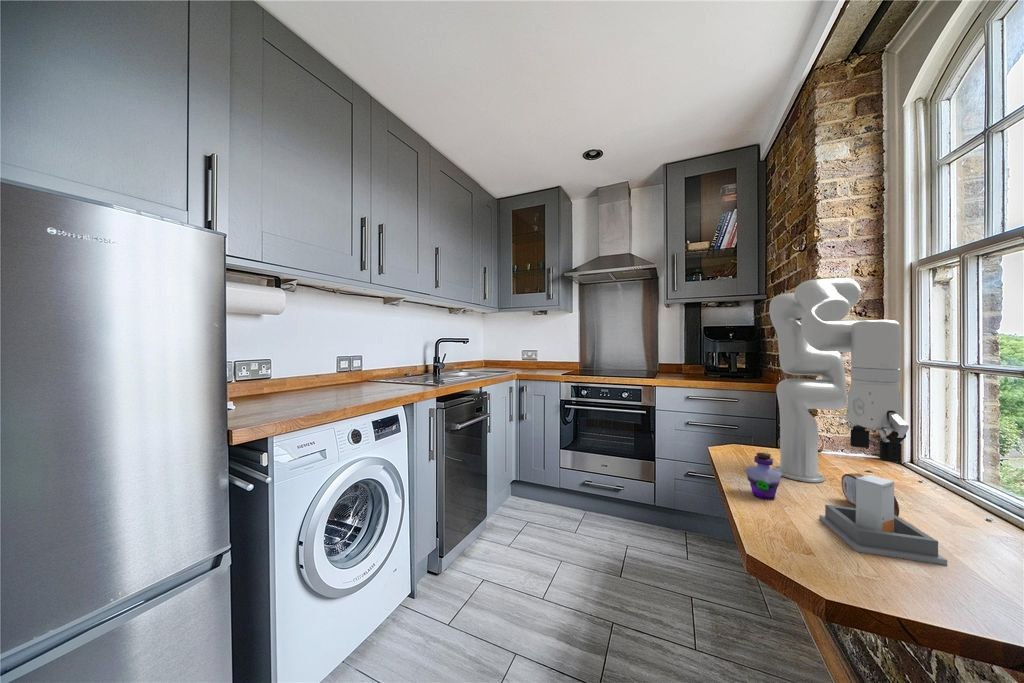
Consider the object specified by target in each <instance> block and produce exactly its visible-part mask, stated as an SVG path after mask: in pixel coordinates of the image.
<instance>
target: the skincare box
mask: <svg viewBox="0 0 1024 683" xmlns="http://www.w3.org/2000/svg"><path fill="white" fill-rule="evenodd" d="M894 496H895V481H894V480H890V479H887V478H883V477H881V476H880V477H879V476H875V475H873V474H872V475H871V474H868V475H863V476H862V477H860V478H856V506H855V508H856V524H857V525H858V526H859V527H861V528H862V529H868V530H876V531H883V532H891V533H894Z"/></svg>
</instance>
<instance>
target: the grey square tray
mask: <svg viewBox="0 0 1024 683" xmlns="http://www.w3.org/2000/svg"><path fill="white" fill-rule="evenodd" d="M824 508H825V509H824V512H825V515H824V514H823V515H822V514H819V515H818V516H819V520H820V521H821V522H822V523H825V524H824V525H825V526H827V527H828V528H829V527H830V528H831V529H832V530H833V533H834V534H836V535H837V536H838V537H839V538H840V539H842V540H843V541H844V542H845V543H846V544H847V545H848V546H849V547H851V548H852V549H853V550H854V551H855V552H858V553H863V554H864V553H865V554H872V555H878V556H883V557H890V558H896V557H897V558H898V559H903V558H904V560H909V561H916V562H924V563H930V564H937V565H941V566H942V565H943V566H948V559H946V558H945V557H943V556H942V555H940V554H939V541H938V540H937V539H935V538H934V537H932V536H930V535H928V534H927V533H925V532H924V531H922V530H921V529H919V528H918V527H916V526H914V525H912V524H911V523H910V522H908V521H906V520H904V519H902V518H901V517H899V516H896V515H895V514H894V533H891V532H883V531H876V530H868V529H862V528H861V527H859V526H858V525H857V524H856V507H848V506H839V505H832V504H825V505H824ZM830 528H829V529H830ZM831 529H830V530H831ZM832 530H831V531H832Z"/></svg>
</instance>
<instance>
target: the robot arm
mask: <svg viewBox="0 0 1024 683" xmlns="http://www.w3.org/2000/svg"><path fill="white" fill-rule="evenodd" d="M861 294H862V291H861V287H860V284H858V282H857V281H855V280H854V279H852V278H847V277H841V278H840V277H839V278H836V277H835V278H817V279H808V280H805V281H802V282H801V283H799V284H798V285H797V286H796V287H795V289H794V292H789V293H782V294H777V295H775V296H774V297H773V298H772V299H771V301H770V304H769V319H770V321H771V323H772V326H773V328H774V330H775V333H776V336H777V345H778V346H777V347H778V348H777V349H778V357H779V364H780V366H779V367H780V369H781V371H782V372H783V373H785V374H788V375H796V376H797V375H798V376H817V377H818V376H819V377H820V378H821V379H814V378H813V379H811V378H785V379H783V380H781V381H779V382H778V383H777V384H776V392H775V393H776V397H777V401H778V408H779V427H780V428H779V429H780V430H779V435H780V437H779V438H780V440H779V446H780V448H779V451H780V453H779V458H780V459H779V460H780V461H779V463H780V464H779V465H776V466H774V468H773V470H775V471H777V472H780V473H782V475H781V477H784V478H786V479H787V478H788V479H790V480H795V481H798V480H799V481H800V482H806V483H823V482H824V481H825V476H824V475H823V474H822V473H820V472H819V452H818V451H819V450H818V449H819V443H818V442H819V431H818V428H819V424H818V422H817V420H816V418H815V417H814V416H813V415H812V414H811V413H810V412H809V410H829V411H837V410H838V411H839V410H842V409H844V408H845V407H846V420H848V422H849V425H848V428H850V439H849V440H850V443H849V444H850V447H854V448H864V449H867V448H869V447H870V430H871V431H876V430H877V432H878V433H879V436H880V438H881V439H882V440H880V441H879V460H881V461H883V462H890V463H891V462H892V463H901V462H902V449H903V448H902V447H903V446H902V444H904V442H905V439H906V438H907V433H908V430H909V429H910V428H909V424H908V423H906V421H905V420H903V402H902V394H901V389H900V385H901V364H902V363H901V359H902V358H901V357H902V356H901V352H902V351H901V350H902V345H901V344H902V326H901V324H900V323H899V322H898V321H897V320H893V319H892V320H891V319H870V320H869V319H867V320H843V319H844V318H846V316H847V315H848V314H849V312H850V309H851V308H852V307H854V306H856V305H857V303H858V302H859V300H860V298H861ZM797 319H801V320H800V321H799V320H797ZM842 352H843V353H850V355H851V356H850V384H849V388H847V380H846V379H847V378H846V370H845V364H844V362H845V361H844V358H843V356H842V354H841V353H842ZM888 433H889V434H888Z"/></svg>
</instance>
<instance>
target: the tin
mask: <svg viewBox="0 0 1024 683" xmlns="http://www.w3.org/2000/svg"><path fill="white" fill-rule="evenodd" d="M862 476H864V475H863V474H861V473H858V472H857V473H845V474H843V475H842V476H841V488H842V490H841V491H842V493H843V496H844V497H845V498H846V500H847V501H848V502H849V503H850V504H851V505H852V506H854V507H856V478H860V477H862ZM894 514H895V515H896V516H898V517H899V515H900V505H899V502H898V500H897V498H896V496H895V495H894Z"/></svg>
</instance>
